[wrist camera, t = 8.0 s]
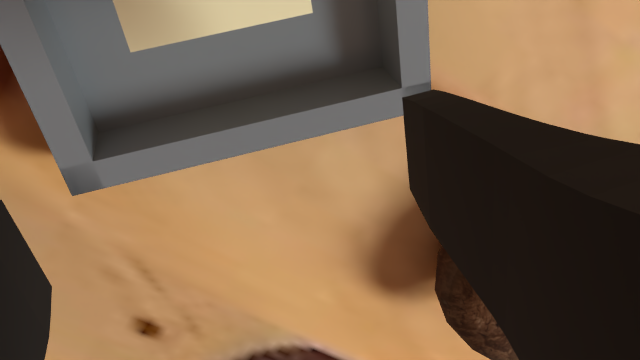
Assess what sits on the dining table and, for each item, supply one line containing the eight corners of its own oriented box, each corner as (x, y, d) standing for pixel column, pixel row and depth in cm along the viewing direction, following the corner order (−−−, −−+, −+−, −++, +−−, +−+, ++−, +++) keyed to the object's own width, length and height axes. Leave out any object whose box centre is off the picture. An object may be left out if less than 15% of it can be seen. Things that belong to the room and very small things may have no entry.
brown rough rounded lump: (623, 326, 27) (662, 390, 21) (454, 338, 30) (446, 398, 24) (599, 162, 26) (632, 180, 21) (428, 187, 29) (413, 210, 23)
